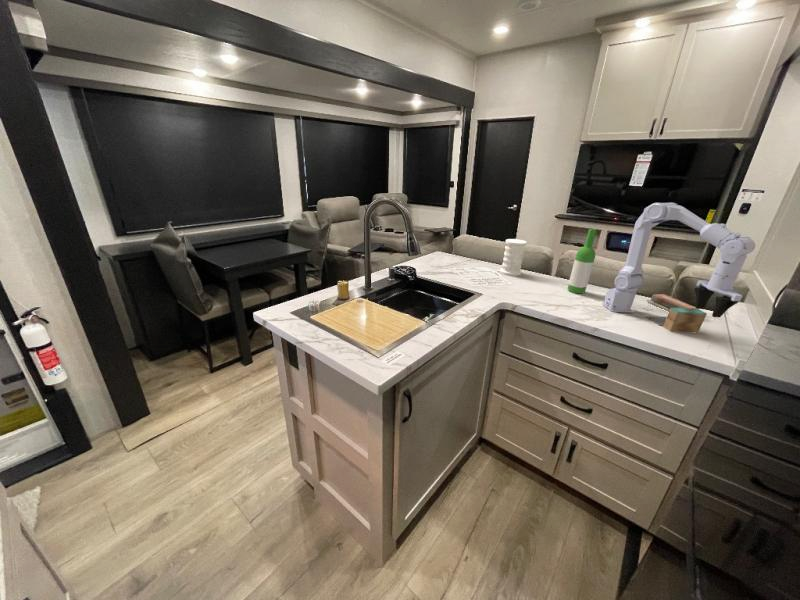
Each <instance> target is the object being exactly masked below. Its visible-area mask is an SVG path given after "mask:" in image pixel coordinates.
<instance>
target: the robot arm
mask: <svg viewBox="0 0 800 600" xmlns="http://www.w3.org/2000/svg"><path fill="white" fill-rule="evenodd" d="M668 221H679V222H680V223H682V224H684V225H686V226H688V227H690V228H692V229H693V230H695V231H698V232H699V235H700V238H701V239H702V240H704V241H706V242H708V244H711V245H712V246H714V247H716V248H717V249H720V252H721V255H720V256H719V259H718V262H717V263H716V266H715V267H714V270H713V272H712V275H710V276H711V277H710V279H709V281H707V280H704V279H703V280H702V279H699V280H697V283H696V284H695V286H698V287H694V289H693V290H694V292H695V296H696V297H695V298H696V299H695V300H696V301H695V307H696V308H697V309H700V310H703V309H704V308H705V307H706V305H707V303H708V302H709V300H710V299H711V297H712V296H713V295H714V294H715V293H716V294H718V295H720V296H715V304H714V305H715V306H714V309H713V310H712V314H711V315H712V317H713V318H721V317H722V316H723V315H724V314H725V313H726V312H727V311H728V310H729V309H730V308H732V307H733V306H735V305H737V304H738V303H740V302H741V301H742V298H743V295H742V294H740V293H738V292H736V291H735V289H734V288H733V287H734V284H735V283H736V281H737V279H738V277H739V274H740V272H741V270H742V268H743V266H744V264H745V261H746V260H747V257H748V255H749V254H751V253H752V252H753V251H754V250H755V248H756V243H755V241H754V240H752V239H751V237H750V236H742V233H739V232H735V231H732V230H731V229H729V228H727V225H726V224H725V223H717V222H714V223H709V222H708V221H706V220H704V219H703V218H701V217H699V216H698V215H696V214H695V213H693V212H692V211H690V210H689V209H687V208H686V207H684V206H682V205H678V203H675V202H654V203H651V204H650V205H648V206H646V207H645V208H644V209H643V212H642V213H641V214H640V216H639V217H638V219H637V220H636V221H635V224H634V227H633V231H632V236H631V240H630V243H629V248H628V253H627V257H626V261H625V265H624V267H622V268H621V269H620V270H619V272H618V274H617V276H616V277H615V279H614V286H615V287H614V288H613V287H612V288H609V289H608V290H607V292H606V295H605V298H604V302H602V305H603V306H604V307H605V308H606V309H608V310H610V311H611V312H613V313H614V312H615V313H616V312H617V313H629V314H631V313H633V314H635V313H636V311H635V310H633V309H632V307H633V303H634V301H635V297H636V295H637V292H638V289H639V288H640V287H642V286H643V285H644V283H645V277H644V274H645V273H644V272H645V271H644V269H643V268H642V266H643V262H644V259H645V255H646V252H647V247H648V243H649V240H650V236H651V232H652V228H654V227H655V226H657V225H659V224H661V223H664V222H668Z"/></svg>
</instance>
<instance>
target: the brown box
mask: <svg viewBox="0 0 800 600" xmlns="http://www.w3.org/2000/svg"><path fill="white" fill-rule="evenodd" d="M666 317H667V318H666V320H665V323H664V325H663V326H662V327H663V328H665V329H666V330H668V331H669V332H679V333H693V332H696V333H697V334H698V333H699V331H700V329H701V327H702V325H703V323H704V321H705V319H706V317H707V313H706V312H705V311H703V310H702V309H700V310H699V309H685V308H670V311H669V313H668V312H667V316H666Z"/></svg>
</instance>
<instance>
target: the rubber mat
mask: <svg viewBox="0 0 800 600" xmlns="http://www.w3.org/2000/svg"><path fill="white" fill-rule="evenodd" d="M666 318H667V316H653V315H650V316H649V315H646V319H649V320H650V321H651V322H653V323H654V324H656V325H657V326H659V327H663V325H664V323H665V320H666Z"/></svg>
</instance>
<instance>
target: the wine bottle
mask: <svg viewBox="0 0 800 600" xmlns="http://www.w3.org/2000/svg"><path fill="white" fill-rule="evenodd" d="M596 233H597V229H596V228H588V231H587V235H586V238H585V241H584V245H583V246H582V247H580V248H579V249H578V250H577V252H576V254H575V258H574V261H573V265H572V270H571V272H570V273H571V274H570V277H569V281H568V285H567V290H568V291H569V292H570V293H574V294H578V295H579V294H584V293H585V292H586V290H587V287H588V284H589V280H590V276H591V273H592V269H593V267H594V263H595V262H594V261H595V258H596V251H595V249H594V248H593V244H594V240H595V236H596Z"/></svg>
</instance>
